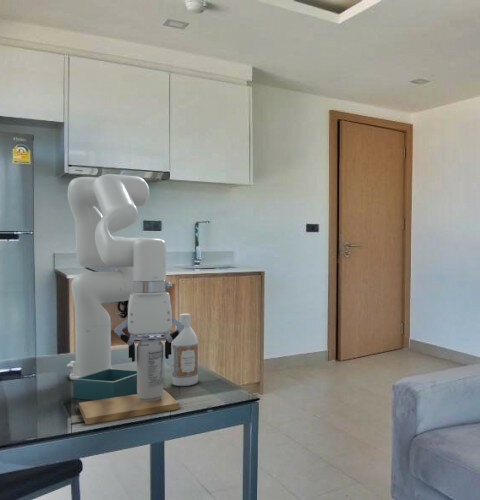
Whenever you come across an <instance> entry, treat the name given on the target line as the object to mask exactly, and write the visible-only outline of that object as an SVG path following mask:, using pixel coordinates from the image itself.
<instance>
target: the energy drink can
mask: <svg viewBox="0 0 480 500" xmlns="http://www.w3.org/2000/svg"><path fill="white" fill-rule="evenodd" d="M136 370H137V393H136V394H137V397H138V398H139V399H140V401H142V402H152V401H157V400H159V399H161V396H162V395H163V390H164V344H163V342H162V341H161V337H157V336H156V337H155V336H153V337H141V338H140V339H139V342H138V344H137V346H136Z"/></svg>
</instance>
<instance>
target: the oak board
mask: <svg viewBox="0 0 480 500" xmlns="http://www.w3.org/2000/svg"><path fill="white" fill-rule="evenodd" d="M179 409H180V402H179V401H177V399H175V398H174V397H173V396H172V395H171V394H170V393H169V392H168V391H167V390H165V389H163V395H162V396H161V399H159V400H157V401H152V402H142V401H140V399H139V398H138V397H137V393H136V394H133V395H128V396H121V397H114V398H107V399H101V400H88V401H82V402H78V410H79V412H80V414H81V417H82V419H83V422H84V423H85V425H86V426H87V425H93V424H100V423H105V422H111V421H117V420H123V419H128V418H135V417H140V416H146V415H152V414H157V413H162V412H169V411H174V410H179Z"/></svg>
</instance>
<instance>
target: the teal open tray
mask: <svg viewBox="0 0 480 500" xmlns="http://www.w3.org/2000/svg"><path fill="white" fill-rule="evenodd" d="M113 368H114V367H111V368H108V369H105V370H102V371H99V372H95V373H92V374H89V375H85V376H82V377H79V378H75V379H73V380H72V381H73V383H72V385H73V387H72V388H73V390H72V391H73V393H72V394H73V397H72V398H73V399H77V400H78V399H79V400H88V401H94V400H101V399H107V398H114V397H121V396H128V395H134V394H137V369H128V368H127V369H126V368H114V369H113Z"/></svg>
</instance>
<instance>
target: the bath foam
mask: <svg viewBox="0 0 480 500" xmlns="http://www.w3.org/2000/svg"><path fill="white" fill-rule="evenodd" d="M179 322H181V323H182V324H184V326H185V327H184V329H183V330H182V331H181V332H180V333H179V335H178V336H177V337H176V338H175V339H174V340H173V341H172V342H171V367H172V368H171V371H172V372H171V374H172V376H171V377H172V378H171V379H172V381H171V382H172V386H176V387H190V386H194V385H196V384H197V383H199V341H198V340H199V339H198V336H197V334H196V333H195V331H194V329H193V328H192V327H191V313H180V314H179Z"/></svg>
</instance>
